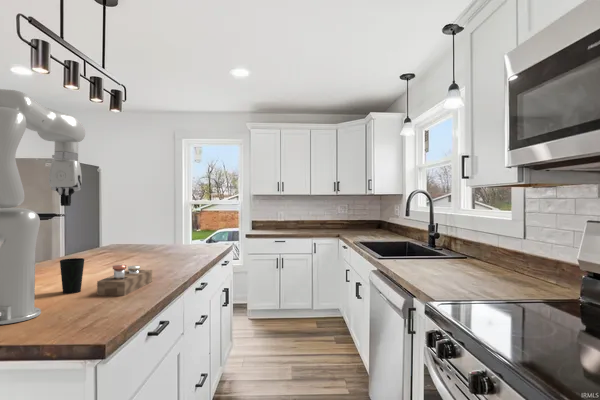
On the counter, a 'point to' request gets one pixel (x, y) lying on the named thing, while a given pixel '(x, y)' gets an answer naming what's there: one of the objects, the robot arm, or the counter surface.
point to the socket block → (124, 283)
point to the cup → (71, 274)
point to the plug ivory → (133, 269)
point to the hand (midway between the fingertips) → (65, 205)
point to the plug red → (119, 272)
